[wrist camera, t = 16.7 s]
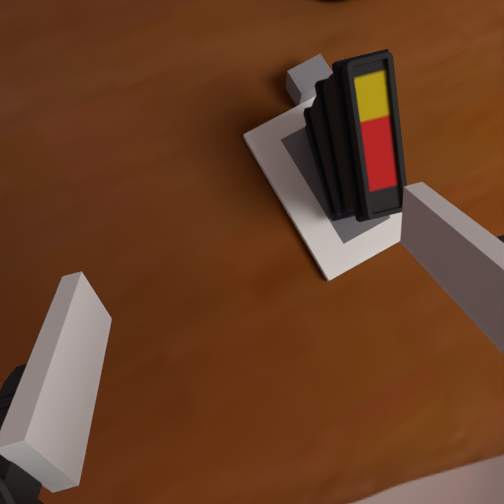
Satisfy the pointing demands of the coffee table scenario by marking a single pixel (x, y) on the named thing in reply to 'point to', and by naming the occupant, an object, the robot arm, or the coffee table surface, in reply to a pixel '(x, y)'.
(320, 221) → the charging pad
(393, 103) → the magazine
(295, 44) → the coffee table surface
